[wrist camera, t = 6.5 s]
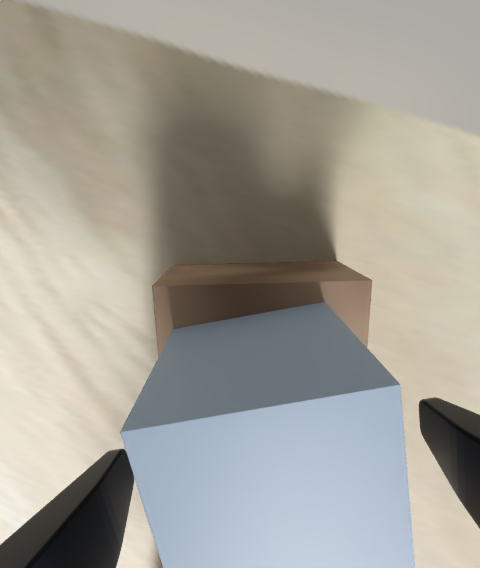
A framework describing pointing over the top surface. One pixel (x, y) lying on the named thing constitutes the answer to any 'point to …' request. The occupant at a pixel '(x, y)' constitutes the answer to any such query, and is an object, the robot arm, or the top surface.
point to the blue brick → (272, 447)
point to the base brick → (258, 293)
